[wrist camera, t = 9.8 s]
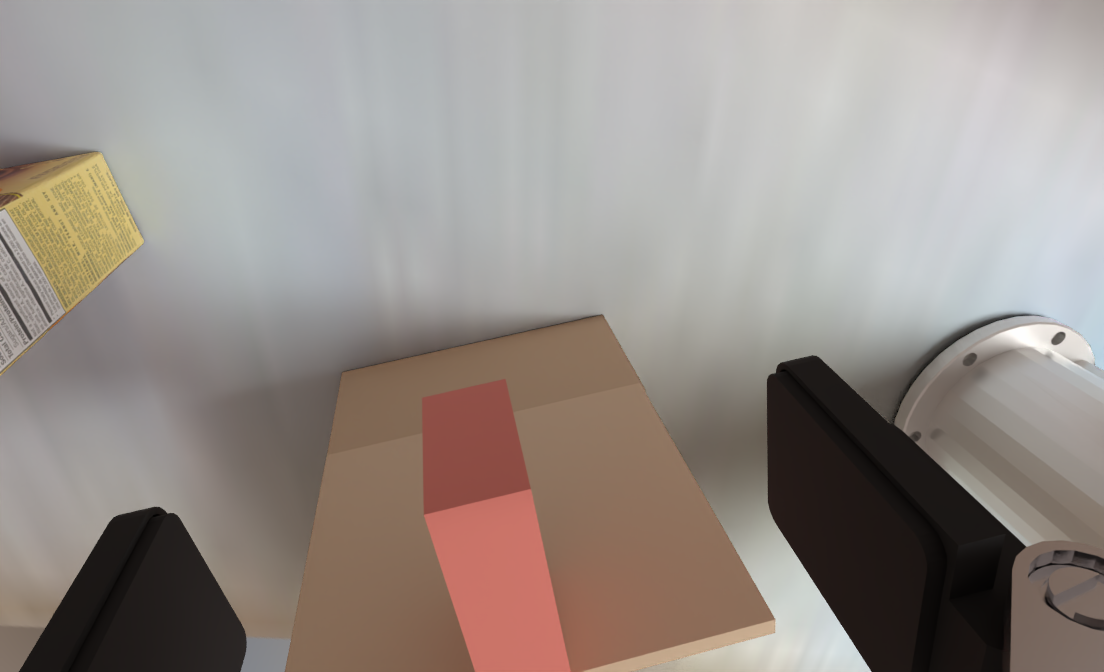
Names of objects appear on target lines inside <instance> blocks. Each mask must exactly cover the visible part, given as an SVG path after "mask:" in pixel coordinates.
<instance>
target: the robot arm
mask: <svg viewBox="0 0 1104 672" xmlns="http://www.w3.org/2000/svg"><path fill="white" fill-rule="evenodd" d="M767 446H768V504H769V508H770V512H771V515H772V517H773V519H774V521H775V523H776V524H777V526H778V528H779V529H780V531H781V532H782V534H783V535H784V537H785V538H786V540H787V541H788V543H789V545H790V546H791V548H792V549H793V551H794V552H795V554H796V555H797V557H798V558H799V560H800V562H801V563H802V565H803V566H804V568H805V569H806V571H807V572H808V574H809V575H810V577H811V579H812V580H813V582H814V583H815V585H816V586H817V588H818V589H819V591H820V593H821V594H822V596H823V597H824V599H825V600H826V602H827V603H828V605H829V606H830V608H831V610H832V611H833V613H834V614H835V616H836V617H837V619H838V620H839V622H840V623H841V625H842V627H843V628H844V630H845V631H846V633H847V634H848V636H849V637H850V639H851V640H852V642H853V644H854V645H855V647H856V648H857V650H858V651H859V653H860V654H861V656H862V657H863V659H864V661H865V662H866V664H867V665H868V667H869V668H870V670H871V671H872V672H1104V370H1102V369H1100V368H1098V367H1096V366H1095V358H1094V355H1093V352H1092V350H1091V347H1090V345H1089V343H1088V342H1087V341H1086V340H1085V339H1084V337H1083V336H1082V335H1081V334H1080V333H1078V332H1077V331H1075V330H1073V329H1072V328H1070V327H1069V326H1066V325H1065V324H1063V323H1060V322H1058V321H1056V320H1054V319H1051V318H1047V317H1041V316H1017V317H1012V318H1008V319H1004V320H1000V321H996V322H994V323H991V324H989V325H986V326H984V327H981V328H979V329H977V330H975V331H973V332H971V333H970V334H968V335H966V336H964V337H963V338H961V339H959V340H957V341H956V342H955V343H953V344H952V345H951V346H950V347H948V348H947V349H946V350H944V351H943V352H942V353H940V354H939V355H938V356H937V357H936V358H935V359H934V360H933V361H932V362H931V363H930V364H929V365H928V366H927V367H926V368H925V369H924V370H923V371H922V373H921V374H920V375H919V376H918V378H917V379H916V380H915V382H914V383H913V384H912V385H911V387H910V389H909V391H908V392H907V394H906V396H905V397H904V399H903V401H902V403H901V406H900V408H899V411H898V413H897V416H896V418H895V423H894V425H893V424H889V423H888V422H887V421H886V420H885V419H884V418H883V417H882V416H880V415H879V414H878V413H877V412H876V411H875V410H874V409H873V408H872V407H871V406H870V405H869V404H868V403H867V402H866V401H865V400H864V399H863V398H861V397H860V396H859V395H858V394H857V393H856V392H855V391H854V390H853V389H852V388H851V387H850V386H849V385H848V384H847V383H846V382H845V381H843V380H842V379H841V378H840V377H839V376H838V375H837V374H836V373H835V372H834V371H833V370H832V369H831V368H830V367H829V366H828V365H827V364H826V363H824V362H823V361H822V360H821V359H820V358H819V357H817V356H813V355H812V356H808V357H804V358H799V359H795V360H791V361H786V362H782V363H780V364H778V366H777V369H776V373H774V374H770V375H769V376H768V379H767ZM245 652H246V634H245V630H244V628H243V626H242V624H241V622H240V621H239V619H238V617H237V616H236V614H235V612H234V610H233V609H232V607H231V605H230V604H229V602H228V600H227V598H226V597H225V595H224V593H223V592H222V590H221V588H220V586H219V585H218V583H217V581H216V580H215V578H214V576H213V574H212V573H211V571H210V569H209V568H208V566H207V564H206V562H205V561H204V559H203V557H202V556H201V554H200V552H199V550H198V549H197V547H196V545H195V544H194V542H193V540H192V538H191V537H190V535H189V533H188V532H187V530H186V528H185V526H184V525H183V523H182V521H181V520H180V518H179V517H178V516H177V515H176V514H174V513H169V514H167V513H166V511H165V510H163V509H162V508H160V507H152V508H148V509H143V510H139V511H134V512H130V513H126V514H121V515H118V516H116V517H114V518H113V519H112V520H111V521H110V522H109V524H108V525H107V527H106V529H105V530H104V532H103V534H102V535H101V537H100V539H99V540H98V542H97V544H96V545H95V547H94V549H93V550H92V552H91V554H90V555H89V557H88V559H87V560H86V562H85V564H84V565H83V567H82V568H81V570H80V572H79V573H78V575H77V577H76V578H75V580H74V582H73V583H72V585H71V587H70V588H69V590H68V592H67V593H66V595H65V597H64V598H63V600H62V602H61V603H60V605H59V606H58V608H57V610H56V611H55V613H54V615H53V616H52V618H51V620H50V621H49V623H48V625H47V626H46V628H45V630H44V632H43V633H42V635H41V636H40V638H39V640H38V641H37V643H36V645H35V646H34V648H33V650H32V651H31V653H30V654H29V656H28V658H27V660H26V661H25V663H24V665H23V666H22V668H21V669H20V671H19V672H240V671H241V667H242V664H243V660H244V657H245Z"/></svg>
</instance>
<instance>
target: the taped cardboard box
mask: <svg viewBox="0 0 1104 672" xmlns="http://www.w3.org/2000/svg"><path fill="white" fill-rule="evenodd" d="M772 633H775V618H774V616H773V615H772V613H771V611H770V609H769V608H768V606H767V604H766V602H765V601H764V599H763V597H762V595H761V594H760V592H759V590H758V588H757V587H756V585H755V583H754V581H753V580H752V578H751V576H750V574H749V573H748V571H747V569H746V568H745V566H744V564H743V562H742V561H741V559H740V557H739V555H738V554H737V552H736V550H735V548H734V547H733V545H732V543H731V541H730V540H729V538H728V536H727V534H726V533H725V531H724V529H723V527H722V526H721V524H720V522H719V520H718V519H717V517H716V515H715V513H714V512H713V510H712V508H711V506H710V505H709V503H708V501H707V499H706V498H705V496H704V494H703V492H702V491H701V489H700V487H699V485H698V484H697V482H696V480H695V478H694V477H693V475H692V473H691V472H690V470H689V468H688V466H687V465H686V463H685V461H684V459H683V458H682V456H681V454H680V452H679V451H678V449H677V447H676V445H675V444H674V442H673V440H672V438H671V437H670V435H669V433H668V431H667V430H666V428H665V426H664V424H663V423H662V421H661V419H660V417H659V416H658V414H657V412H656V410H655V409H654V407H653V405H652V403H651V402H650V400H649V398H648V396H647V395H646V393H645V391H644V389H643V388H642V386H641V384H640V383H637V384H633V385H628V386H624V387H620V388H615V389H611V390H607V391H602V392H598V393H594V394H589V395H585V396H581V397H576V398H572V399H568V400H563V401H559V402H555V403H551V404H546V405H542V406H538V407H533V408H529V409H525V410H520V411H516V412H513V409H512V405H511V401H510V396H509V392H508V388H507V383H506V379H502V380H498V381H494V382H489V383H485V384H480V385H476V386H471V387H467V388H463V389H458V390H454V391H449V392H445V393H441V394H436V395H432V396H427V397H423V398H422V433H421V434H417V435H412V436H408V437H404V438H399V439H395V440H391V441H386V442H382V443H378V444H373V445H369V446H365V447H361V448H356V449H352V450H348V451H343V452H339V453H335V454H330V455H327V456H326V461H325V467H324V472H323V477H322V482H321V487H320V493H319V498H318V503H317V508H316V513H315V518H314V524H313V529H312V534H311V539H310V544H309V549H308V555H307V560H306V565H305V570H304V575H303V581H302V586H301V591H300V596H299V601H298V606H297V612H296V617H295V622H294V627H293V632H292V638H291V643H290V648H289V653H288V658H287V664H286V669H285V672H632V671H636V670H639V669H643V668H647V667H650V666H654V665H658V664H661V663H665V662H669V661H672V660H676V659H680V658H684V657H687V656H691V655H695V654H698V653H702V652H706V651H709V650H713V649H717V648H721V647H724V646H728V645H732V644H735V643H739V642H743V641H746V640H750V639H754V638H758V637H761V636H765V635H769V634H772Z"/></svg>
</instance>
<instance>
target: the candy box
mask: <svg viewBox="0 0 1104 672" xmlns="http://www.w3.org/2000/svg"><path fill="white" fill-rule="evenodd" d="M143 243H144V240H143V238H142V236H141V234H140V232H139V230H138V228H137V226H136V224H135V222H134V220H133V218H132V216H131V214H130V212H129V210H128V208H127V206H126V204H125V202H124V200H123V198H122V195H121V193H120V191H119V189H118V187H117V185H116V183H115V181H114V179H113V176H112V174H111V172H110V170H109V168H108V166H107V164H106V162H105V160H104V158H103V155H102V154H101V153H100V152H93V153H87V154H81V155H76V156H71V157H66V158H60V159H55V160H49V161H43V162H37V163H31V164H26V165H20V166H15V167H9V168H4V169H0V376H1V375H2V374H3V373H4V372H5V371H6V370H7V369H8V368H10V367H11V366H12V365H13V364H14V363H15V362H16V361H17V360H18V359H19V358H20V357H21V356H22V355H23V354H25V353H26V352H27V351H28V350H29V349H30V348H31V347H32V346H33V345H34V344H35V343H36V342H38V341H39V340H40V339H41V338H42V337H43V336H44V335H45V334H46V333H47V332H48V331H49V330H50V329H51V328H52V327H53V326H54V325H55V324H57V323H58V322H59V321H60V320H61V319H62V318H63V317H64V316H65V315H66V314H67V313H68V312H70V311H71V310H72V309H73V308H74V307H75V306H76V305H77V304H78V303H80V302H81V301H82V300H83V299H84V298H85V297H86V296H87V295H88V294H89V293H90V292H92V291H93V290H94V289H95V288H96V287H97V286H98V285H99V284H100V283H101V282H102V281H103V280H104V279H106V277H107V276H108V275H110V274H111V273H112V272H113V271H114V270H115V269H116V268H117V267H118V266H119V265H120V264H121V263H123V262H124V261H125V260H126V259H127V258H128V257H129V256H130V255H132V254H133V253H134V252H135V251H136V250H137V249H138V248H139V247H140V246H141V245H143Z"/></svg>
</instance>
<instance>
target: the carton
mask: <svg viewBox="0 0 1104 672" xmlns="http://www.w3.org/2000/svg"><path fill="white" fill-rule="evenodd" d="M502 379H506V383H507V388H508V392H509V396H510V401H511V405H512V409H513V412H516V411H520V410H525V409H529V408H533V407H538V406H542V405H546V404H551V403H555V402H559V401H563V400H568V399H572V398H576V397H581V396H585V395H589V394H594V393H598V392H602V391H607V390H611V389H615V388H620V387H624V386H628V385H633V384H637V383H640V384H641V386H642V388H643V389H644V391H645V388H644V386H643V385H642V383H641V381H640V379H639V378H638V376H637V374H636V372H635V370H634V369H633V367H632V365H631V363H630V362H629V360H628V358H627V356H626V355H625V353H624V351H623V349H622V348H621V346H620V344H619V342H618V341H617V339H616V337H615V335H614V333H613V332H612V330H611V328H610V326H609V325H608V323H607V321H606V319H605V318H604V316H603V315H599V316H594V317H590V318H585V319H581V320H576V321H572V322H567V323H563V324H558V325H554V326H549V327H545V328H540V329H536V330H531V331H527V332H522V333H518V334H513V335H509V336H504V337H499V338H495V339H490V340H486V341H481V342H477V343H472V344H468V345H463V346H459V347H454V348H450V349H445V350H441V351H436V352H432V353H427V354H423V355H418V356H414V357H409V358H405V359H400V360H396V361H391V362H386V363H382V364H377V365H373V366H368V367H364V368H359V369H355V370H350V371H346V372H342V375H341V381H340V386H339V392H338V397H337V403H336V408H335V414H334V419H333V425H332V430H331V436H330V441H329V447H328V452H327V455H330V454H335V453H339V452H343V451H348V450H352V449H356V448H361V447H365V446H369V445H373V444H378V443H382V442H386V441H391V440H395V439H399V438H404V437H408V436H412V435H417V434H421V433H422V398H423V397H427V396H432V395H436V394H441V393H445V392H449V391H454V390H458V389H463V388H467V387H471V386H476V385H480V384H485V383H489V382H494V381H498V380H502ZM645 393H646V392H645Z"/></svg>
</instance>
